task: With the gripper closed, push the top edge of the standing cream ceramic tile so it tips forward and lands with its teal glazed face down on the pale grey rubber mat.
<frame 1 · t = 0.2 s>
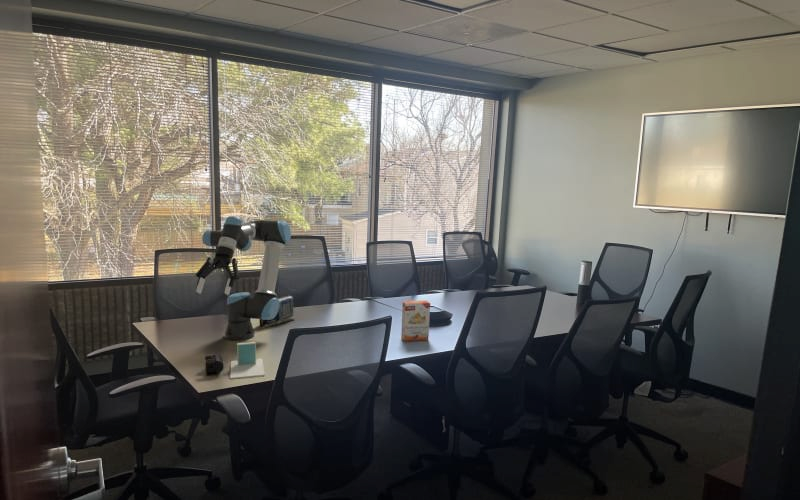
hand: (212, 293, 216), 35 cm above the table, tool tilted 35°, fingers open, 13 cm apart
tile: (246, 353, 229), point 6 cm above the table, touching mat
radio: (277, 323, 295), on the table
cracker box: (415, 339, 272), on the table
mat: (247, 368, 226), on the table
end cap: (214, 372, 222), on the table
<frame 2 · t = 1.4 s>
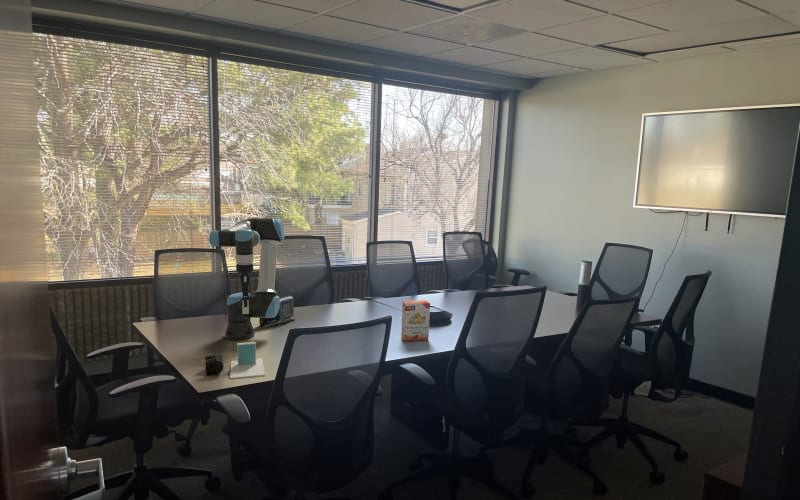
hand: (245, 310, 233), 24 cm above the table, tool pointing down, fingers open, 11 cm apart
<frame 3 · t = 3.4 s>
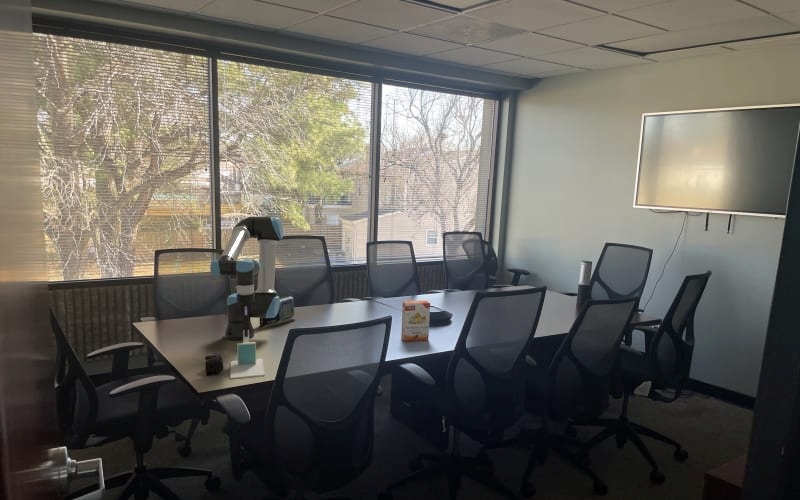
hand: (246, 342, 235), 8 cm above the table, tool pointing down, fingers closed
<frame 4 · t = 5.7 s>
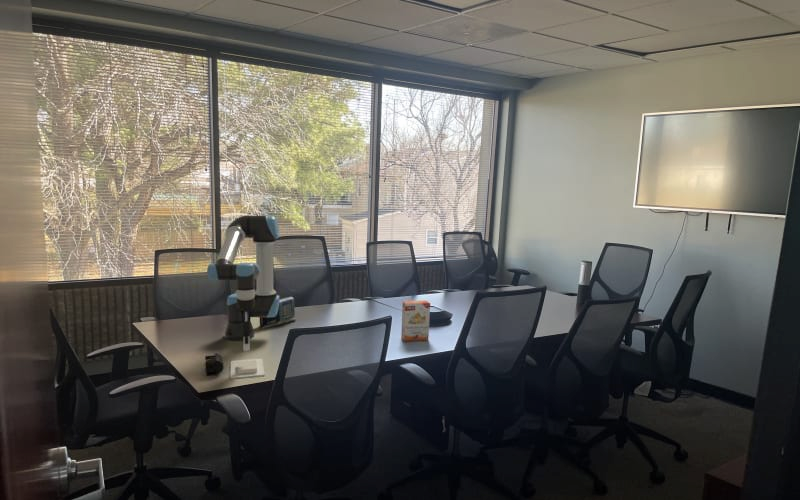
hand: (246, 349, 225), 9 cm above the table, tool pointing down, fingers closed
tile: (247, 366, 224), point 2 cm above the table, tilted 90°, touching mat
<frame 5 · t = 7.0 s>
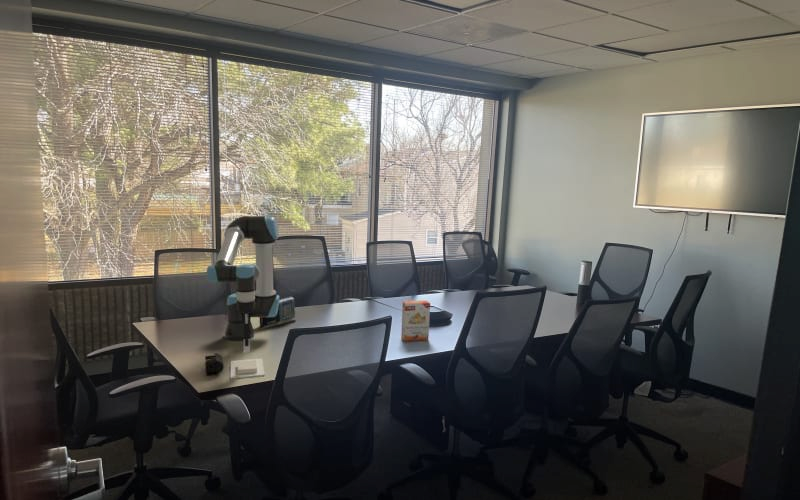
hand: (246, 352, 223), 8 cm above the table, tool pointing down, fingers closed
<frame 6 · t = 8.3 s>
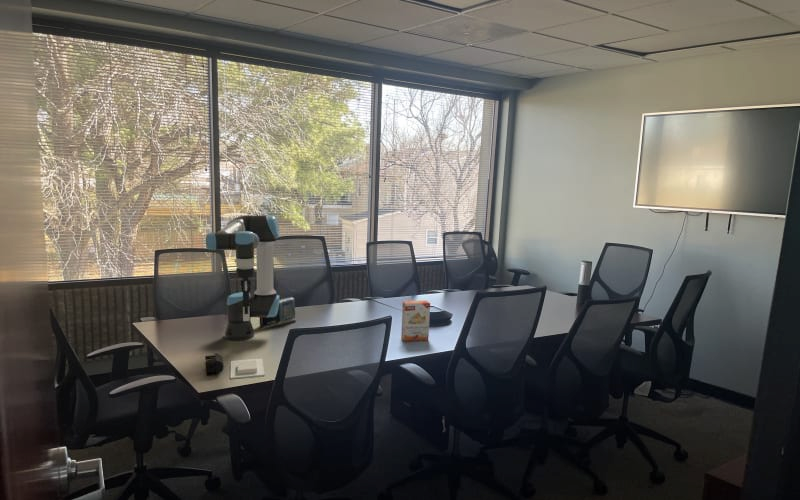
hand: (246, 320, 221), 23 cm above the table, tool pointing down, fingers closed
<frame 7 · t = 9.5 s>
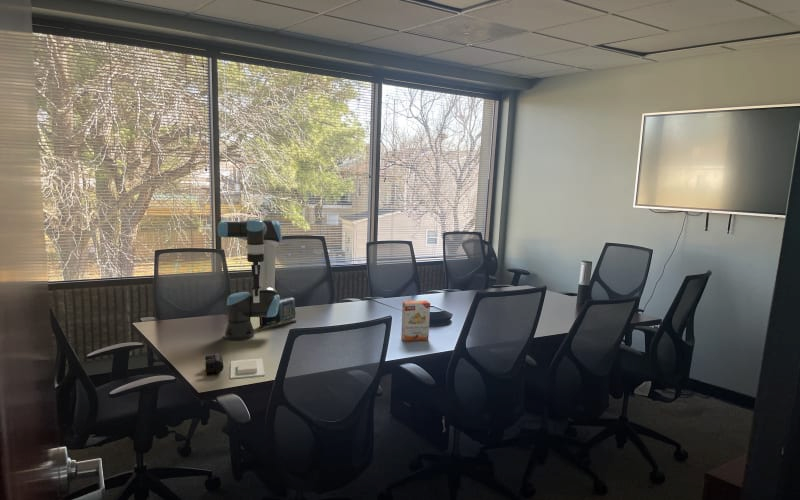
hand: (256, 302, 238), 26 cm above the table, tool pointing down, fingers closed
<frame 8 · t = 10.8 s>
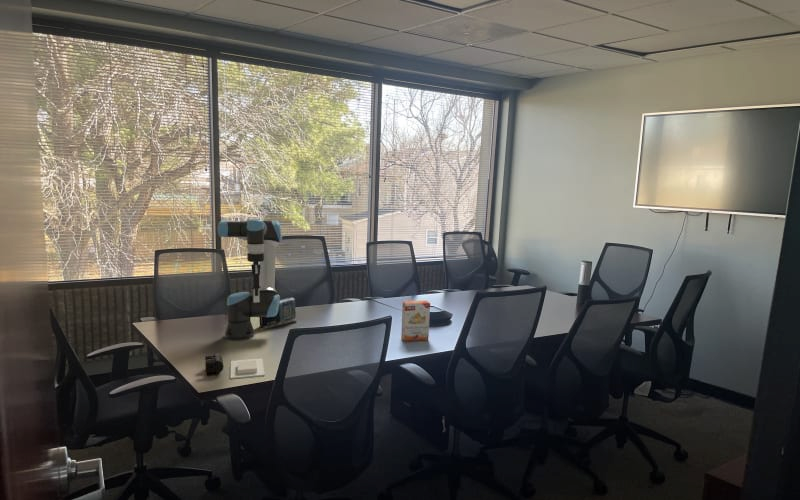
hand: (256, 301, 239), 26 cm above the table, tool pointing down, fingers closed
at the end: tile tilted 90°; tile inside the target area (0.8 cm from its centre), point 1.7 cm above the table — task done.
